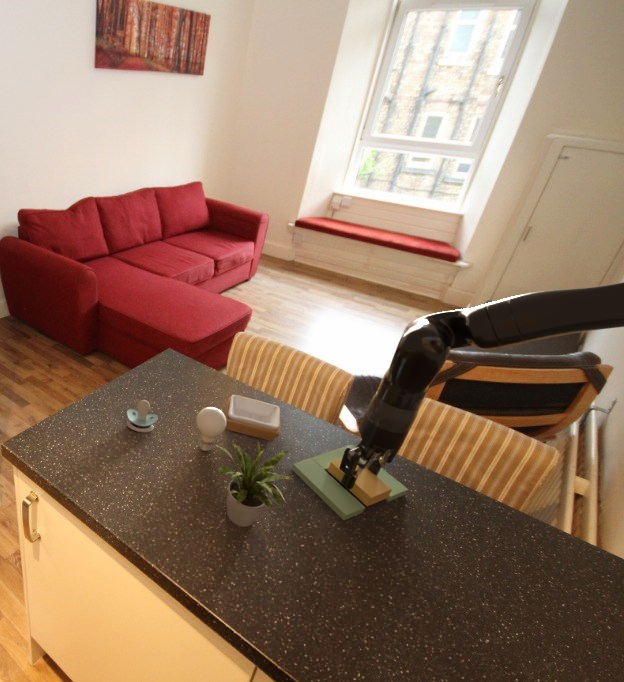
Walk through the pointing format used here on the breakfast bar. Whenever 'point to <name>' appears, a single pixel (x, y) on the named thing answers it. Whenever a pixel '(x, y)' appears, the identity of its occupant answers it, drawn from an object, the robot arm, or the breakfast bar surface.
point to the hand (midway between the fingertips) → (357, 481)
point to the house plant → (251, 486)
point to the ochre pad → (363, 484)
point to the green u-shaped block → (332, 491)
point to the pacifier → (141, 417)
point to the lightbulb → (210, 426)
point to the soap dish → (252, 417)
